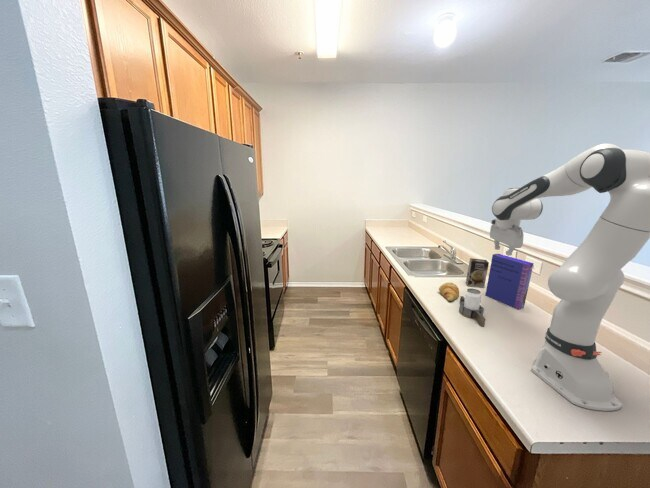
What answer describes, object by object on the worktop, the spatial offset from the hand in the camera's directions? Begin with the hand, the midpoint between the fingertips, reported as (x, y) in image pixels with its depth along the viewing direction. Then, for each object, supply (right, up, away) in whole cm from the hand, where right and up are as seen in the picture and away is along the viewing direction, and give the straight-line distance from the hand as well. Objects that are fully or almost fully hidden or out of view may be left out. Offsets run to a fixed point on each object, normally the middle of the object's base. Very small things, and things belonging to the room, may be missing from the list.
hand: (502, 252), depth 129 cm
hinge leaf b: (-14, -29, +4) cm, 33 cm away
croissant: (-16, -25, +22) cm, 37 cm away
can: (-15, -30, +1) cm, 33 cm away
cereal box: (+10, -27, +15) cm, 32 cm away
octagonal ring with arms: (-15, -30, -2) cm, 34 cm away
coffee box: (+6, -21, +35) cm, 42 cm away
